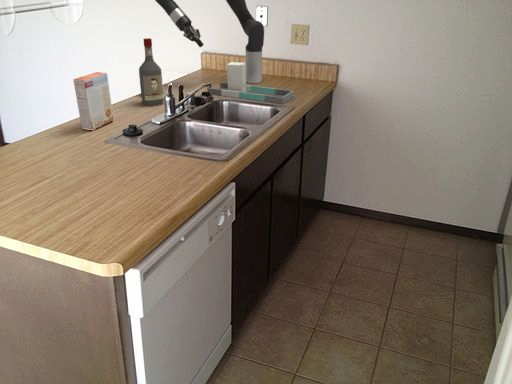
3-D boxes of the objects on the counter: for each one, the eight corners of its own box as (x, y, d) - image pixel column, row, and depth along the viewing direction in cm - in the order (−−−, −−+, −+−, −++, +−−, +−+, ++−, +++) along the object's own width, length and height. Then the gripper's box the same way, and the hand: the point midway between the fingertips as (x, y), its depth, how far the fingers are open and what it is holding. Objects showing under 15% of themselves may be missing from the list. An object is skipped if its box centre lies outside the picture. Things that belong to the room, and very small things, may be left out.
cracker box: (102, 120, 205) (96, 71, 196) (114, 121, 203) (108, 72, 194) (80, 129, 193) (72, 78, 184) (92, 131, 191) (84, 79, 182)
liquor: (140, 102, 230) (134, 38, 217) (158, 99, 235) (153, 36, 221) (146, 107, 223) (140, 41, 210) (165, 104, 228) (160, 39, 214)
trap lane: (221, 87, 259) (221, 81, 257) (294, 96, 244) (294, 90, 242) (207, 93, 246) (207, 88, 245) (283, 104, 231) (283, 98, 230)
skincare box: (246, 92, 249) (246, 62, 242) (242, 95, 244) (242, 65, 237) (231, 91, 252) (231, 61, 245) (226, 94, 246) (226, 63, 239)
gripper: (177, 15, 236) (199, 42, 237) (191, 13, 247) (212, 39, 248) (169, 25, 240) (191, 52, 241) (183, 23, 251) (204, 48, 252)
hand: (202, 46), depth 245 cm, fingers closed
